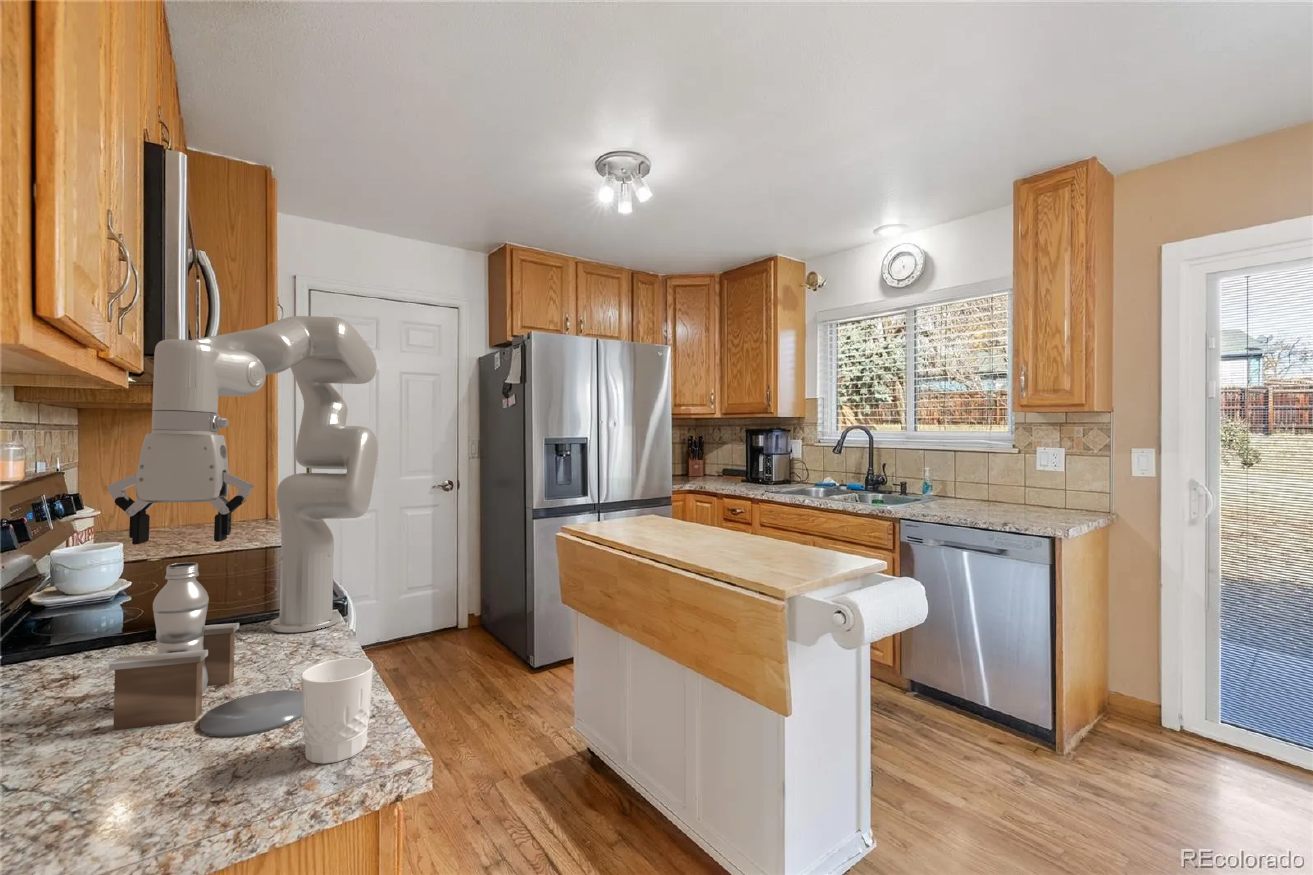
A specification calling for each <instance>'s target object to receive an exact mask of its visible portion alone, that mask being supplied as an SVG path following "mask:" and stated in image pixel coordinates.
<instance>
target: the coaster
mask: <svg viewBox="0 0 1313 875" xmlns="http://www.w3.org/2000/svg"><path fill="white" fill-rule="evenodd" d="M300 718H303V712H302V690H301V691H300V690H292V689H291V690H290V689H289V690H288V689H287V690H285V689H284V690H270V691H263V692H257V693H253V694H248V695H244V696H241V697H237V698H234V699H232V700H229V701H227V702H224V703H222V704H220V705H217V706H216V707H213V708H212V709H211V710H210V709H209V711H207V712H206V713H205V714H204V715H203V716H202V717H201V718H200V721H199V730H200V731H201V732H202V733H203V734H205V735H207V736H210V737H218V738H235V737H237V738H238V737H245V736H246V737H247V736H249V735H250V736H251V735H256V734H261V733H265V732H269V731H271V730H275V729H279V728H281V727H283V726H287V725H289V724H291V723H292V722H295V721H298V720H299V719H300Z"/></svg>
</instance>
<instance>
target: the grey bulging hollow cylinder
mask: <svg viewBox="0 0 1313 875" xmlns="http://www.w3.org/2000/svg"><path fill="white" fill-rule="evenodd" d="M165 571H166V573H165V574H166V575H165V577H164V579H165V580H167V582H166V583H165V585H164V586H163V587H162V588H161V589H160V590H159V591H158V593H157V594H156V596H155V597H154V600H153V602H152V612H153V618H154V624H155V630H156V633H157V639H156V641H157V643H156V651H157V652H156V654H164V653H175V652H187V651H198V650H204V646H203V640H204V636H203V634H204V627H205V624H206V618H207V612H208V608H209V602H210V597H209V594H208V592H207V590H206V588H205V587H204V586H203V585H202V584H201V583H200V582H199V581H198V580H197V577H199V576H200V572H199V564H198V562H178V563H173V564H168V565H167V566H166V569H165ZM156 633H155V634H156ZM207 683H208V674H207V668H206V665H205V658H204V659H203V671H202V695H204V693H205V692H206V690H207V687H208V686H207Z"/></svg>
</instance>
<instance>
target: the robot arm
mask: <svg viewBox="0 0 1313 875" xmlns="http://www.w3.org/2000/svg"><path fill="white" fill-rule="evenodd" d="M375 356H376V355H375V354H374V352H373V350H372V349H371V347H370V346H369V345H368V343H367V342H366V341H365V340H364V338H363V337H362V336H361V334H360V333H359V332H358V331H357V330H356V328H355V327H354V326H352V325H351V324H350V323H349V321H346V320H345V319H343V318H341V317H340V318H339V317H335V316H318V315H317V316H316V315H315V316H313V315H312V316H310V315H292V316H288V317H285V318H282V319H279V320H276V321H274V322H270V323H268V324H266V325H264V326H261V327H258V328H257V327H256V328H253V329H247V330H240V331H235V332H230V333H224V334H219V335H218V334H217V335H211V336H206V337H205V336H204V337H200V338H196V339H192V340H191V339H180V338H178V339H177V338H176V339H175V338H174V339H173V338H170V339H163V340H161V341H158V343H156V345H155V348H154V356H153V383H152V384H153V385H152V386H153V387H152V409H151V410H152V411H151V413H152V414H151V433H146V434H145V437H144V439H143V442H142V447H141V449H140V454H139V459H138V462H137V463H138V464H137V470H136V473H135V474H131V475H129V476H126V477H124V478H122V479H120V480H117V481H115V482H113V483H110V484H108V485H107V486H106V489H107V491H108V493H109V495H110V496H111V498H112V499H113V500H114V504H115V505H116V506H117V507H118V508H120V509H121V510H122V511H124V512H125V515H126V516H128V517H129V527H128V528H129V530H128V535H129V538H130V539H132V540H131V543H132V544H131V545H134V546H135V545H140V544H143V543H147V542H149V539H150V515H149V513H147V511H148V510H149V509H150V508H151V507H152V506H153V505H154V504H155V503H159V504H160V503H204V502H205V503H206V502H208V503H210V504H211V505H212V506H213V507H214V508H215V510H217V514H216V515H214V527H213V528H214V529H213V530H214V531H213V532H214V533H213V542H216V543H219V542H223V541H226V540H227V538H228V536H230V535H231V533H232V513H234V512H235V510H236V509H237V510H238V508H239V507H240V506H241V505H242V504H244V503H245V502H246V501H247V498H248V497H249V495H250V494H251V492H252V490H254V484H253V483H251V482H250V481H247V480H245V479H242V478H241V477H238V476H236V475H234V474H231V473H230V471H229V459H228V450H227V445H226V444H227V443H226V439H225V435H223V434H222V435H221V434H218V432H219V430H220V429H221V428H228V427H229V425H230V420H229V418H225V417H223V416H222V417H221V416H220V414H219V413H218V411H219V410H218V408H219V397H246V396H247V397H248V396H251V395H254V394H256V393H257V392H258V391H260V390H261V389H262V388H263V386H264V385H265V382H266V377H267V376H269V375H273V374H279V373H283V372H284V371H287V370H288V369H289V368H290V370H291V372H292V375H293V377H294V379H295V381H296V384H297V386H298V388H299V391H300V393H301V397H302V400H303V409H302V410H303V411H302V416H301V422H300V426H299V429H298V435H297V441H296V445H295V452H294V454H295V459H296V462H297V464H298V465H300V466H302V467H304V468H307V469H313V470H316V469H318V470H346V473H336V472H335V473H333V472H332V473H331V472H330V473H327V472H302V473H301V472H300V473H294V474H291V475H288V476H287V477H285V478H283V479H282V480H281V481H280V482H279V484H278V486H277V489H276V492H275V495H276V504H277V510H278V515H279V519H280V534H281V536H280V539H281V540H280V547H281V548H280V580H279V581H280V584H279V585H280V586H279V588H280V590H279V616H278V617H276V618H274V619H273V620H271V622H270V624H269V625H270V630H271V631H273V632H276V633H285V634H287V633H288V634H289V633H292V634H293V633H304V632H310V631H317V629H318V630H321V628H322V629H326V628H329V627H332V626H334V625H336V624H337V623H339V622H340V621H341V613H340V612H338V611H334V610H333V604H334V602H333V600H334V599H333V597H334V596H333V594H334V593H333V592H334V554H335V553H334V550H335V548H334V547H335V541H334V535H333V533H332V531H331V529H330V527H329V526H328V524H327V523H326V522H325V520H326V519H330V520H331V519H334V520H335V519H337V520H338V519H339V520H341V519H343V520H344V519H345V520H346V519H356V518H360V517H362V516H363V515H365V514H366V512H367V511H368V509H369V506H370V503H371V498H372V493H373V487H374V481H375V474H376V468H377V461H378V454H379V453H378V452H379V451H378V450H379V447H378V441H377V436H376V435H375V433H374V432H373V430H371V429H370V428H368V427H365V426H359V425H347V424H346V423H347V417H348V416H347V415H348V405H347V403H346V402H345V401H346V400H344V398H343V397H342V395H341V394H340V393H339V392H338V391H337V390H336V389H335V387H333V385H332V384H344V385H345V384H346V385H347V384H348V385H363V384H367V383H369V382H371V381H372V380H373V379H374V377H375V376H376V372H377V361H376V357H375ZM133 486H135V497H136V498H137V499H136V500H133V499H132V498H131V497H130V496H128V493H127V489H129V488H130V487H131V488H132V487H133ZM230 486H232V487H235V488H237V489H238V490H237V492H236V495H235V496H234V497H233V498H231V500H229V499H228V498H227V497H228V495H229V491H230ZM325 627H326V628H325Z"/></svg>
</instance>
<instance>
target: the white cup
mask: <svg viewBox="0 0 1313 875" xmlns="http://www.w3.org/2000/svg"><path fill="white" fill-rule="evenodd" d="M373 672H374V662H372V661H371V660H369V659H366V658H361V657H348V658H347V657H345V658H337V659H333V660H326V661H324V662H320V663H316V664H314V665H311V666H310V667H308V668H306V669H305V670H304V671H303V672H301V676H300V677H301V680H300V681H301V692H302V712H303V716H302V726H303V736H304V743H305V745H304V746H305V753H304V754H305V759H306V760H308V762H310V763H313V764H323V765H324V764H330V763H331V764H332V763H338V762H341V761H344V760H347V759H350V758H353V757H355V756H356V755H358V754H359V753H361V752H362V751H363V750H364V749H365V747H366V746H367V744H368V730H369V729H368V728H369V725H368V724H369V721H370V713H371V702H372V690H373V689H372V688H373V687H372V686H373V674H374V673H373Z"/></svg>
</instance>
